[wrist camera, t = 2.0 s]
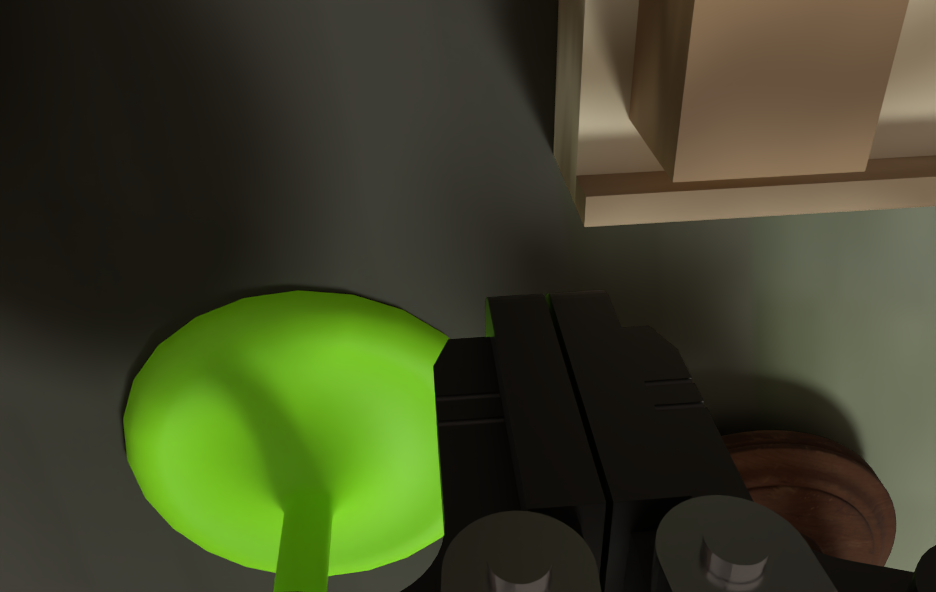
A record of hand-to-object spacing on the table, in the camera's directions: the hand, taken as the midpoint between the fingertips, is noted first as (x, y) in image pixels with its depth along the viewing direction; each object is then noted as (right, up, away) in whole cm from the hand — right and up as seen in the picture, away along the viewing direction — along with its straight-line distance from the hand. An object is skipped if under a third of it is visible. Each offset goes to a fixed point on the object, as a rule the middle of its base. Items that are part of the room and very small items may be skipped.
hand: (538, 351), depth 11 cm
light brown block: (+6, +8, +13) cm, 16 cm away
